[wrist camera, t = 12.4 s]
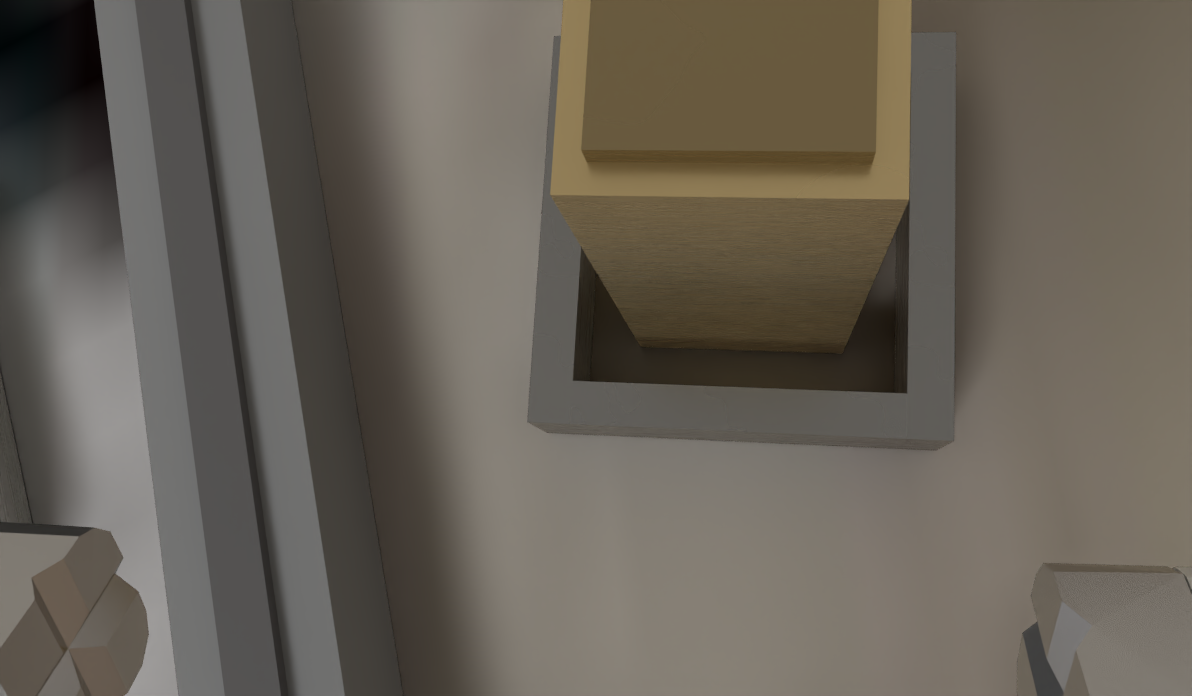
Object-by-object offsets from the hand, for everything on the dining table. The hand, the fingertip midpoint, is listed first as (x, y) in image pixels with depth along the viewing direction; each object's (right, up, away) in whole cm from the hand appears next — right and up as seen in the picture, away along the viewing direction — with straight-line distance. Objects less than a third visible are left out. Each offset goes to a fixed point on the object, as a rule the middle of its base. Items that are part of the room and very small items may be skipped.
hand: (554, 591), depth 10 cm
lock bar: (+3, +4, +13) cm, 14 cm away
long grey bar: (-6, +2, +14) cm, 15 cm away
